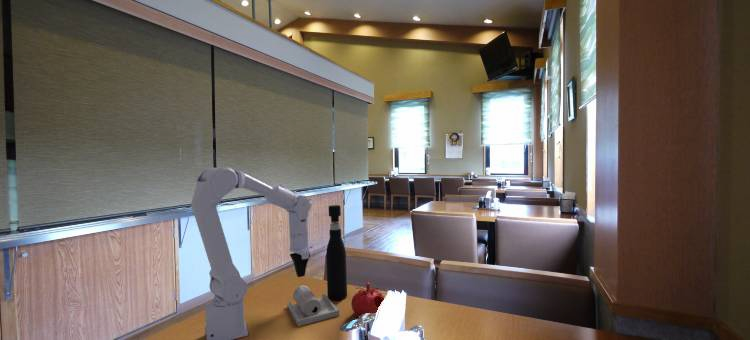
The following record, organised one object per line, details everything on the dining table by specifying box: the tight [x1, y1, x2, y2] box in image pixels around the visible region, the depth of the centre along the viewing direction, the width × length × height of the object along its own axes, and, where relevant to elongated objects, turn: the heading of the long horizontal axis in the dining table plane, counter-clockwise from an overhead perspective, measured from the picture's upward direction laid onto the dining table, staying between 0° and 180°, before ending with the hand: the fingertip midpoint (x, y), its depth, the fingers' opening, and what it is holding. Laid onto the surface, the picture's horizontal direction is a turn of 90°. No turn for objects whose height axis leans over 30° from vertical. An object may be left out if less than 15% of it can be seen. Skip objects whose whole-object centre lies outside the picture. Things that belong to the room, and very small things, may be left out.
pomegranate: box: [350, 282, 386, 318], centre depth 92 cm, size 10×10×9 cm
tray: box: [286, 293, 340, 327], centre depth 96 cm, size 12×14×2 cm
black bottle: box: [325, 204, 348, 302], centre depth 105 cm, size 6×6×30 cm
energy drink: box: [292, 285, 321, 317], centre depth 97 cm, size 5×5×12 cm
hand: (300, 276), depth 101 cm, fingers closed
